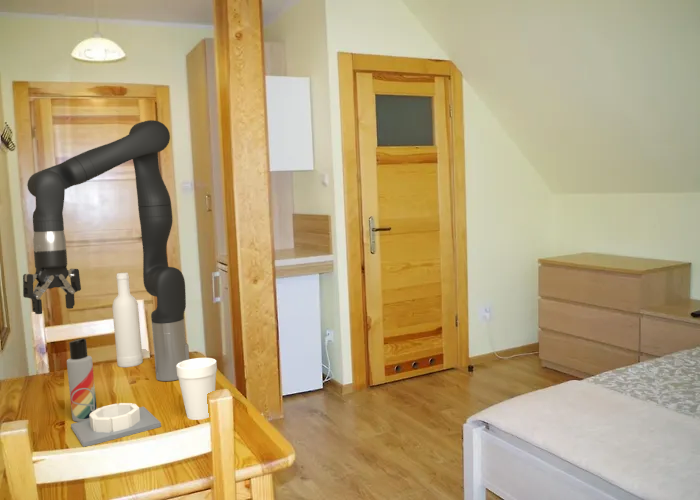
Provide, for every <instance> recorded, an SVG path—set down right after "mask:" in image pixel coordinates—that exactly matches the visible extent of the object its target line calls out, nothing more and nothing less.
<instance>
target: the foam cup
mask: <svg viewBox="0 0 700 500" xmlns="http://www.w3.org/2000/svg"><path fill="white" fill-rule="evenodd" d="M176 368H177V376H178V378H179V379H178V382H179V386H180V392H181V394H182V401H183V404H184V408H185V413H186V417H187V418H188V420H191V421H192V420H194V421H195V420H199V421H200V420H205V419H208V418H210V417H209V413H208V404H207V394H208V393H210V392H212V391H215V392H216V381H217V372H218V364H217V360H216V359H215V358H212V357H196V358H189V360H185V361H182V362H180V363H178V364H177V366H176Z"/></svg>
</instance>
